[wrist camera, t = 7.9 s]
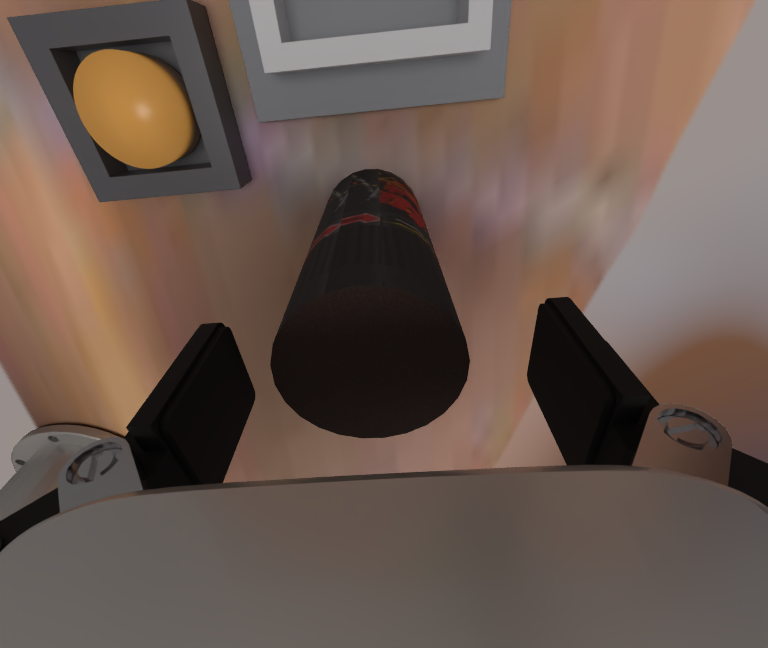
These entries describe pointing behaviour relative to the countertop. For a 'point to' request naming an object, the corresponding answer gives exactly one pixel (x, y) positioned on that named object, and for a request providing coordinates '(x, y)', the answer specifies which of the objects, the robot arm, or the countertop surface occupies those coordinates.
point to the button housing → (164, 41)
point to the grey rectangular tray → (370, 53)
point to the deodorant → (370, 318)
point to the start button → (135, 108)
